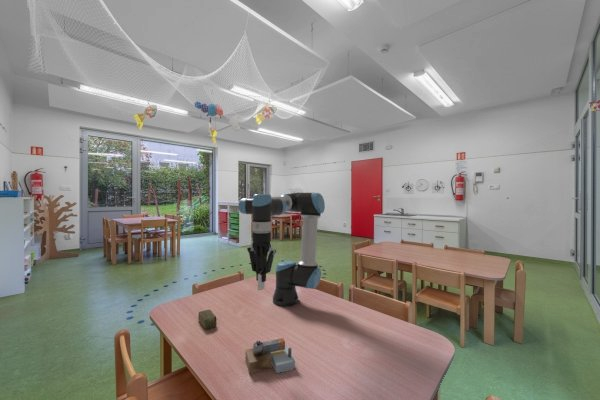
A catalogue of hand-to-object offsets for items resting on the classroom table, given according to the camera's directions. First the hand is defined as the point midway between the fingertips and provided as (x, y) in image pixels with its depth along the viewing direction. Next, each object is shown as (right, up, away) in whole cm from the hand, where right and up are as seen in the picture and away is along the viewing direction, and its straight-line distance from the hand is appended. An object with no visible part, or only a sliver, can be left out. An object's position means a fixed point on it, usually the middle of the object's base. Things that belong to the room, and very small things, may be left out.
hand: (261, 289), depth 104 cm
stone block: (-29, -24, +19) cm, 42 cm away
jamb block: (0, -25, -10) cm, 26 cm away
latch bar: (+4, -20, -9) cm, 22 cm away
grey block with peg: (+8, -25, -6) cm, 27 cm away
